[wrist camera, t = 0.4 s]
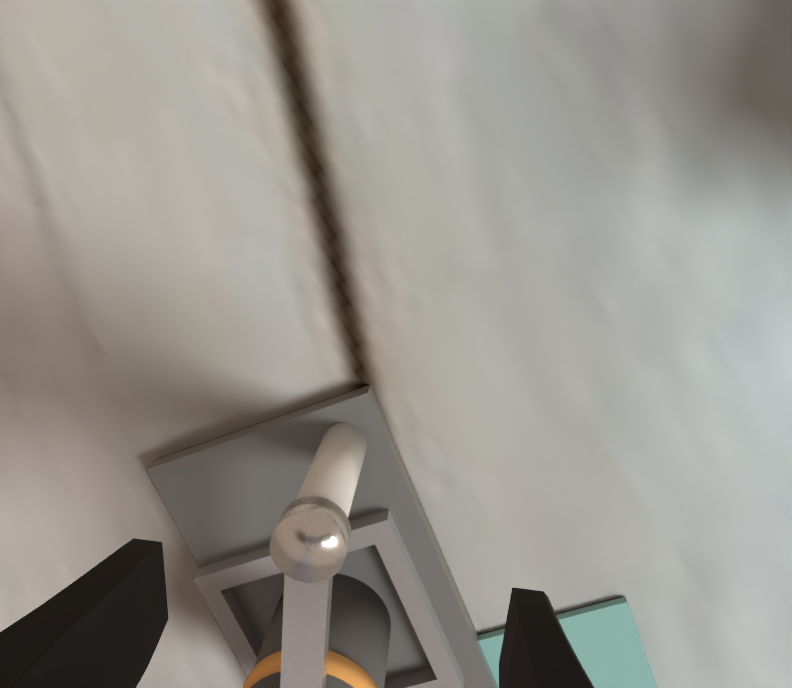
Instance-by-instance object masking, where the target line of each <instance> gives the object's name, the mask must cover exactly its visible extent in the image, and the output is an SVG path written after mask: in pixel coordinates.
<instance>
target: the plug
mask: <svg viewBox="0 0 792 688" xmlns="http://www.w3.org/2000/svg"><path fill="white" fill-rule="evenodd" d="M283 599H284V593H283V594H282V596H281V598H280V599H279V602H278V604H277V607H276V610H275V612H274V615H273V618H272V620H271V623H270V626H269V628H268V631H267V634H266V636H265V639H264V642H263V644H262V647H261V650H260V652H259V655H258V658H257V660H256V663H255V666H254V668H253V669H252V671H251V672H250V673H249V675H248V677H247V679H246V681H245V684H244V686H243V688H280V678H281V651H282V625H283ZM390 632H391V619H390V615H389V612H388V609H387V607H386V605H385V603H384V601H383V600H382V599H381V597H380V596H379V595H378V594H377V593H376V592H375V591H374V590H373V589H372V588H370V587H369V586H368V585H366V584H365V583H363V582H362V581H359V580H357V579H355V578H353V577H350V576H347V575H342V574H335V575H334V576H333V585H332V600H331V615H330V630H329V646H328V661H327V676H326V688H384V684H385V675H386V666H387V658H388V649H389V641H390Z"/></svg>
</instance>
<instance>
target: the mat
mask: <svg viewBox="0 0 792 688" xmlns="http://www.w3.org/2000/svg"><path fill="white" fill-rule="evenodd" d="M556 616H557V618H558V620H559V622H560V624H561V627H562V629H563V631H564V633H565V635H566V637H567V639H568V640H569V642H570V644H571V646H572V648H573V650H574V652H575V654H576V656H577V658H578V659H579V661H580V663H581V665H582V667H583V669H584V670H585V672H586V674H587V675H588V677H589V679H590V681H591V682H592V684H593V686H594V688H657V686H656V683H655V680H654V677H653V675H652V672H651V669H650V666H649V663H648V660H647V657H646V654H645V652H644V649H643V646H642V643H641V640H640V637H639V634H638V632H637V629H636V626H635V623H634V620H633V617H632V614H631V611H630V609H629V606H628V603H627V600H626V598H625V597H622V598H618V599H614V600H610V601H606V602H603V603H599V604H595V605H591V606H587V607H584V608H580V609H576V610H572V611H568V612H565V613H561V614H557V615H556ZM504 632H505V628H504V629H500V630H496V631H492V632H488V633H485V634H481V635H478V641H479V644H480V646H481V648H482V651H483V653H484V655H485V658H486V660H487V662H488V665H489V667H490V669H491V672H492V674H493V676H494V679H495V681H496V683H497V685H498V688H499V660H500V654H501V648H502V643H503V637H504Z"/></svg>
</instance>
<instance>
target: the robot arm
mask: <svg viewBox="0 0 792 688" xmlns="http://www.w3.org/2000/svg"><path fill="white" fill-rule="evenodd" d="M167 620H168V608H167V596H166V584H165V572H164V561H163V549H162V542H156V541H148V540H141V539H132V540H131V541H130V542H128V543H127V544H125V545H124V546H122V547H121V548H120V549H118V550H117V551H116V552H114V553H113V554H111V555H110V556H109V557H107V558H106V559H105V560H103V561H102V562H101V563H99V564H98V565H97V566H95V567H94V568H92V569H91V570H90V571H88V572H87V573H86V574H84V575H83V576H82V577H80V578H79V579H77V580H76V581H75V582H73V583H72V584H70V585H69V586H68V587H66V588H65V589H63V590H62V591H61V592H59V593H58V594H56V595H55V596H54V597H52V598H51V599H49V600H48V601H47V602H45V603H44V604H42V605H41V606H40V607H38V608H37V609H35V610H33V611H32V612H30V613H29V614H27V615H26V616H24V617H23V618H21V619H20V620H18V621H17V622H15V623H14V624H12V625H11V626H9V627H8V628H6V629H5V630H3V631H2V632H0V688H136V686H137V684H138V683H139V681H140V679H141V677H142V676H143V674H144V672H145V670H146V669H147V667H148V664H149V662H150V660H151V658H152V655H153V653H154V651H155V649H156V647H157V644H158V642H159V639H160V637H161V635H162V632H163V630H164V628H165V625H166V623H167ZM499 688H594V686H593V684H592V682H591V681H590V679H589V677H588V675H587V674H586V672H585V670H584V669H583V667H582V665H581V663H580V661H579V659H578V658H577V656H576V654H575V652H574V650H573V648H572V646H571V644H570V642H569V640H568V639H567V637H566V635H565V633H564V631H563V629H562V627H561V624H560V622H559V620H558V618H557V616H556V614H555V612H554V610H553V607H552V605H551V603H550V601H549V598H548V596H547V595H546V594H545V593H544V592H543V591H535V590H528V589H520V588H512V593H511V598H510V604H509V609H508V615H507V621H506V626H505V632H504V637H503V643H502V648H501V654H500V660H499Z"/></svg>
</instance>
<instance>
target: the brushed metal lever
mask: <svg viewBox="0 0 792 688" xmlns="http://www.w3.org/2000/svg"><path fill="white" fill-rule="evenodd" d="M350 535H351V526H350V522H349V519H348V517H347V515H346V514H345V512H344V511H343V510H342V509H341V508H340V507H339V506H338V505H337V504H335V503H334V502H332V501H330V500H328V499H325V498H322V497H315V496H309V497H302V498H299V499H297V500H295V501H293V502H291V503H290V504H289V505H288V506H287V507H286V508H285V509H284V511H283V512H282V514H281V517H280V519H279V521H278V523H277V525H276V528H275V530H274V532H273V534H272V536H271V540H270V554H271V557H272V560H273V562H274V563H275V565H276V566H277V568H278V569H279V570H280V571H281V572H282V573H284V599H283V625H282V651H281V678H280V688H326V676H327V661H328V646H329V630H330V615H331V600H332V585H333V576H334V575H335V574H336V573H337V572H338V571H339V570H340V569H341V567H342V565H343V563H344V560H345V556H346V552H347V548H348V544H349V540H350Z"/></svg>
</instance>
